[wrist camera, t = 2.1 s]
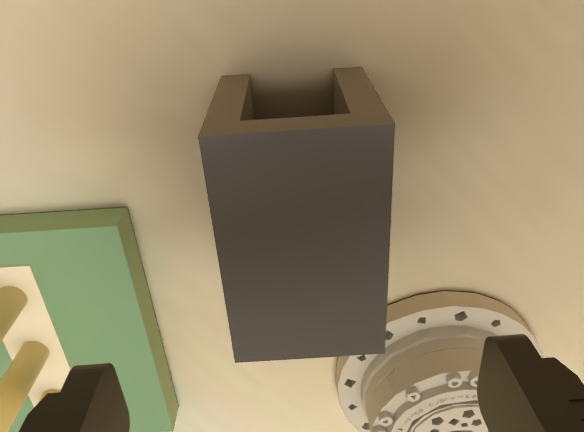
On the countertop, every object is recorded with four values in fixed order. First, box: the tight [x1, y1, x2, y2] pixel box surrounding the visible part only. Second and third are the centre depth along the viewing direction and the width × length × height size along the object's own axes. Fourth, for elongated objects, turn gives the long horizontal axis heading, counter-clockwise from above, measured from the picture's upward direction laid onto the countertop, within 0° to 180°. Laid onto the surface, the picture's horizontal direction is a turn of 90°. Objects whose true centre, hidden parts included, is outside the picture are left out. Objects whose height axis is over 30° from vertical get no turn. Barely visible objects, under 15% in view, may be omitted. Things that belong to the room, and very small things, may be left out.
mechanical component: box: [336, 291, 543, 432], centre depth 24 cm, size 10×4×10 cm
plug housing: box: [198, 67, 395, 363], centre depth 17 cm, size 8×5×6 cm, turn 4°
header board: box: [0, 207, 178, 432], centre depth 21 cm, size 12×10×6 cm
